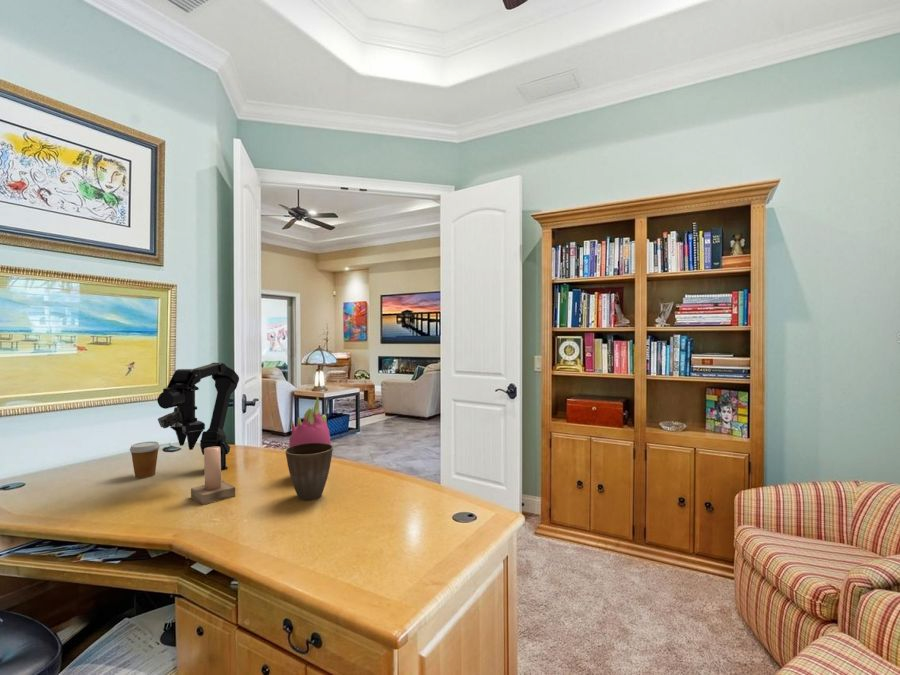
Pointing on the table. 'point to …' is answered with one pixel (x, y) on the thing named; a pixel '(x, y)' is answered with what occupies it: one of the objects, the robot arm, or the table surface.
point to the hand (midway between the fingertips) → (186, 447)
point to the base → (212, 493)
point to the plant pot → (309, 468)
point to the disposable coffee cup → (144, 458)
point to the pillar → (212, 467)
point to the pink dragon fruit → (310, 428)
